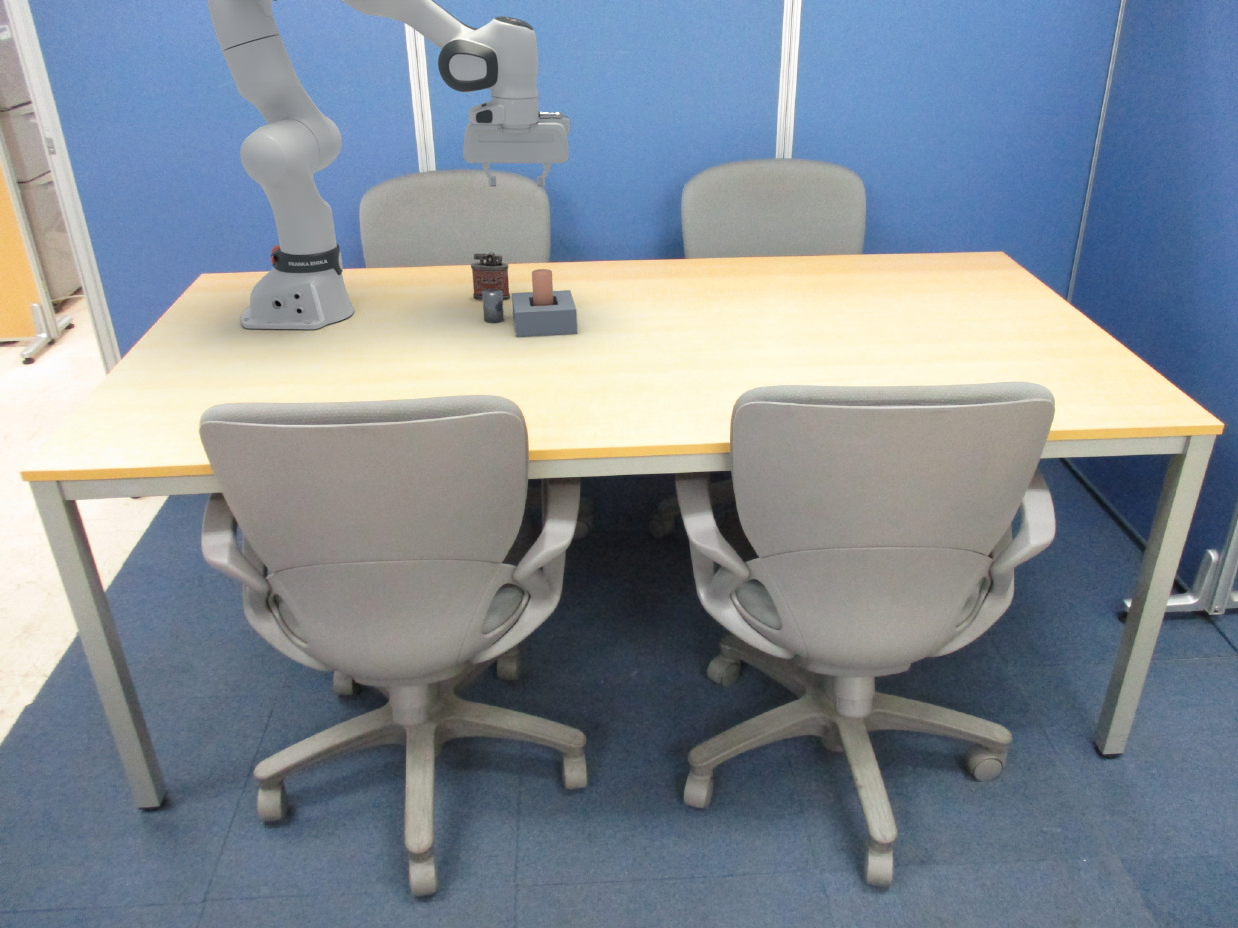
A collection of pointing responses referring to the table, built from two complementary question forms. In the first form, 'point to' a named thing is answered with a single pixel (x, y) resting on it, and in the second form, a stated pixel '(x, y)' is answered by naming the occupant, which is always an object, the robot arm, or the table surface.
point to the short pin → (493, 305)
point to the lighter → (489, 275)
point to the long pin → (542, 287)
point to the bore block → (544, 315)
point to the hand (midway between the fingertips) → (516, 186)
